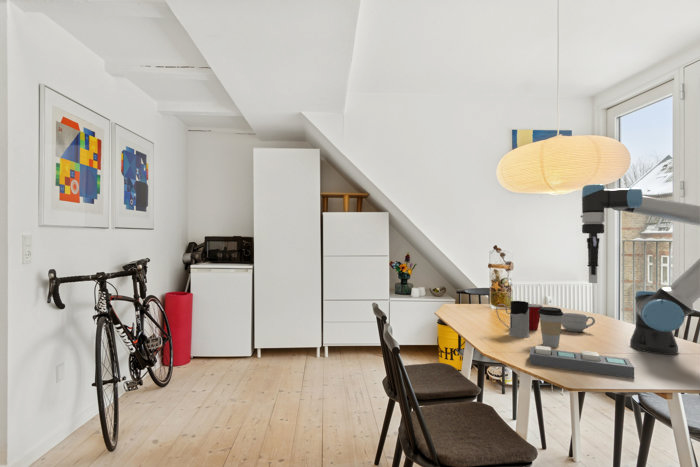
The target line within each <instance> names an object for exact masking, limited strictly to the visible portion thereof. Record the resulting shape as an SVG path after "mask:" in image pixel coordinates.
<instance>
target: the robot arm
mask: <svg viewBox="0 0 700 467" xmlns="http://www.w3.org/2000/svg"><path fill="white" fill-rule="evenodd" d="M581 194H582V195H581V201H582V202H581V206H582V207H581V209H582V210H581V212H582V213H581V214H582V215H579V216H580V218H581V219H582V220H581V222H582V223H583V224H582V225H581V233H582V234H588V237H587V238H586V243H587V255H588V257H587V258H588V262H587V267H588V283H589V284H598V267H599V246H600V238H599V237H598V234H604V233H605V224H604V223H605V209H612V210H614V211H617V212H621V211H622V212H627V213H631V214H637V215H642V216H647V217H652V218H656V219H662V220H668V221H673V222H677V223H681V224H682V223H683V224H688V225H692V226H695V227H696V226H698V227H700V205H697V204H692V203H686V202H680V201H674V200H669V199H664V198H658V197H651V196H647V195H643V191H642V189H641V188H639V187H629V188H625V187H624V188H609V189H607V188H605V185H604V184H600V183H598V184H596V183H595V184H594V183H593V184H586V185H584V186H583V187H582V193H581ZM699 298H700V258H698V259H697V260H696V261H695V262H694V263H693V264H692V265H691V266H690V267H689V268H688V269H687V270H685V271H684V272H683V273H682V274H681V275H680V276H679V277H677V278H676V279H675V280H674V282H672V283H670V285H669V286H667V287H665V286H664V287H660V288H659V289H658V290H655V291H653V290H637V291H636V293H635V296H634V300H635V328H634V330H633V333H632V335H631V338H630V342H629V344H630V347H631V348H633V349H636V350H639V351H642V352H647V353H654V354H659V355H660V354H661V355H674V354H678V353H679V346H678V343H677V341H676V338H675V335H674V333H673V331H676V330H678V329H680V328H681V326H682V325H683V324H684V322H685V318H686V317H687V316H688V315H690V314H691V313H692V312H693V311H694V306H693V304H694V303H695V302H696V301H698V300H699Z"/></svg>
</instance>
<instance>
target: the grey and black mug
mask: <svg viewBox="0 0 700 467" xmlns="http://www.w3.org/2000/svg"><path fill="white" fill-rule="evenodd" d="M529 304H530V303H529V302H528V301H522V300H510V313H509V312H508V309H507V306H506V305H505V304H503V303H499V304H498V305H497V306H496V307H495V308H496V309H495V310H496V311H495V312H496V315H497V318H498V319H499V321H500V322H501V323H502V324H503V325H504V326H506V328H508V330H509V333H508V335H509V336H510V337H512V338H518V337H519V339H527V338H530V337H531V336H530V330H529ZM499 306H503V307H504V308H505V313H506V314H507V315H509V326H508V325H507V324H506V323H505V322H504V321H502V320H501V318H500V316H499V313H498V307H499Z"/></svg>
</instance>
